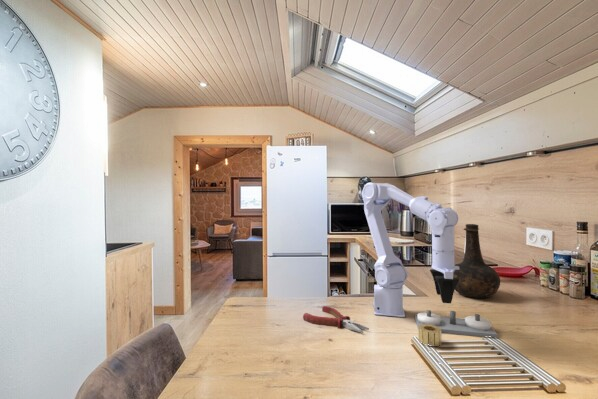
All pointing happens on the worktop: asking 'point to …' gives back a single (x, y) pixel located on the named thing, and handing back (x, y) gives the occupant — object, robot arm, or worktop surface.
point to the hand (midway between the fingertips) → (443, 298)
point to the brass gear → (430, 334)
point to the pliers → (334, 320)
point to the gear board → (457, 324)
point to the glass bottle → (475, 269)
